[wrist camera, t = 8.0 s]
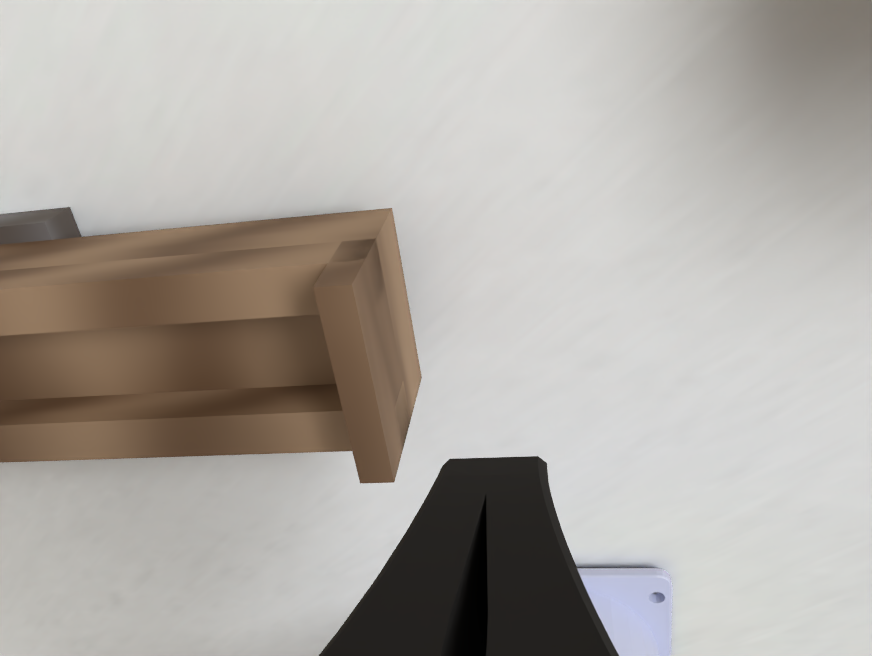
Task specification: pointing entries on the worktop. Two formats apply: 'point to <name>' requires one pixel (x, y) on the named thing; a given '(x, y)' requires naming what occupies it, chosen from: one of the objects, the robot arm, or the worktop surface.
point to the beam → (206, 340)
